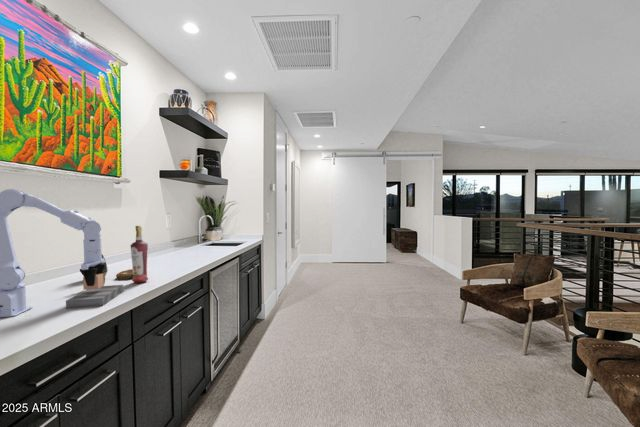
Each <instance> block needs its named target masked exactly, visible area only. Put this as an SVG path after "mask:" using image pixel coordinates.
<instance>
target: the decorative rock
mask: <svg viewBox="0 0 640 427" xmlns="http://www.w3.org/2000/svg"><path fill="white" fill-rule="evenodd" d="M115 276H116V279H117V280H118V281H119V279H120V281H125V280H126V281H128V280H129V279H130V280H133V268H131V269H130V268H129V269H126V270H123V271H119V272H118V273H117V274H115Z"/></svg>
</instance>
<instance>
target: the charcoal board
mask: <svg viewBox="0 0 640 427" xmlns="http://www.w3.org/2000/svg"><path fill="white" fill-rule="evenodd" d="M123 292H124V284H116V285H115V284H113V285H104V286H102V287H100V288H99V289H88V290H83V291H81V292H80V293H77V294H76V295H74V296H72V297H70V298H68V299H67V300H65V309H67V310H68V309H80V308H93V306H94V307H103V305H104V306H105V305H107V303H109V302H110V301H112V300H114V299H115V298H116V297H118V296H119V295H121V294H122V293H123Z"/></svg>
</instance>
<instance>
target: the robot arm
mask: <svg viewBox="0 0 640 427" xmlns="http://www.w3.org/2000/svg"><path fill="white" fill-rule="evenodd" d="M21 207H26V208H27V207H29V208H36V209H38V210H41V211H43V212H45V213H47V214H48V213H49V214H50V215H51V216H52V215H53V216H55V217H57V218H59V220H60V222H61V224H63V225H66V226H69V227H71V228H73V229H75V230H77V231H82V232H83V237H84V239H83V263H82V264H81V265H80V266H81V268H79V272H80V273H81V274H82V276H83V277H84V278H85V281H86V284H87V286H94V283H95V276H96V274H102V273H103V271H104V268H105V267H106V264H107V263H106V264H102V263H104V262H105V261H106V259H105V257H104V258H102V255H103V252H102V238H101V236H102V235H101V231H102V228H101V225H100V223H99V222H97V221H96V220H93V219H92V217H90V216H88V217H87V216H85V215H83V214H81V213H80V212H79V210H72V209H68V210H64V209H62V208H60V207H58V206H56V205H54V204H53V203H50V202H48V201H46V200H45V199H42V198H40V197H38V196H35V195H32V194H29V193H26V192H23V191H21V190H18V189H14V188H13V189H12V188H10V189H9V188H8V189H4V190H2V191H0V318H8V317H16V316H17V315H18V316H19V315H21V314H22V313H24V312H26V311H28V310H31V309H33V306H31V305H30V306H27V299H26V298H27V295H26V284H25V283H24V282H23V281H24V280H25V278H26V272H25V270H24V269H23V268H21V265H20V262H19V261H18V259H17V256H16V251H15V247H14V242H13V237H12V235H11V230H10V225H9V221H8V216H10V215H11V214H12V213H13V212H14V211H15V210H18V209H20V208H21ZM104 259H105V260H104Z"/></svg>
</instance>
